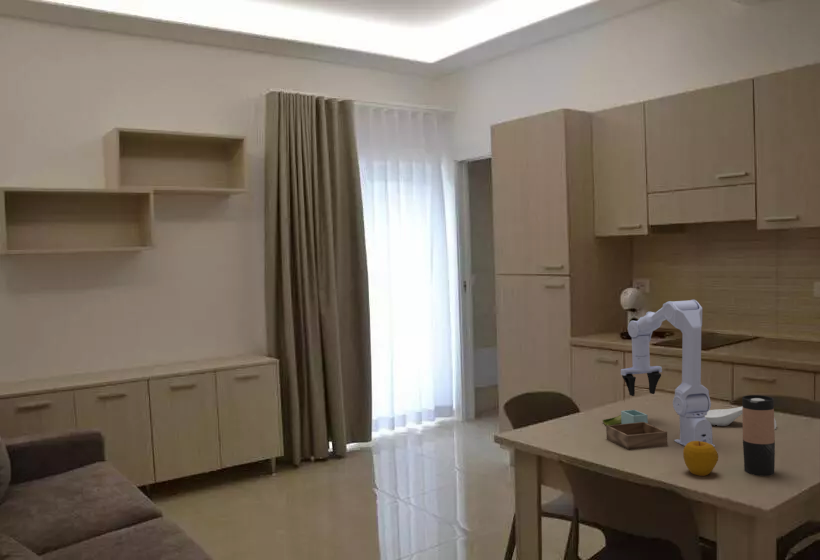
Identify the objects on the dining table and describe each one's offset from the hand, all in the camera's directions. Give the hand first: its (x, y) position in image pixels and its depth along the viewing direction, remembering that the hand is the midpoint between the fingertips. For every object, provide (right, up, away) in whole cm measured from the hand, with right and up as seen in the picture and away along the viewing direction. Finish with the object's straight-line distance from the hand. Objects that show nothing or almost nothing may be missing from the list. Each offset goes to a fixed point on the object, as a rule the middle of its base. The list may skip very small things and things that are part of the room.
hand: (642, 394), depth 241 cm
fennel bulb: (-1, -7, 0) cm, 7 cm away
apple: (-2, -13, -54) cm, 55 cm away
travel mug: (+13, -12, -54) cm, 57 cm away
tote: (-5, -11, -8) cm, 15 cm away
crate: (-9, -11, -23) cm, 27 cm away
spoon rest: (+29, -10, -7) cm, 32 cm away
